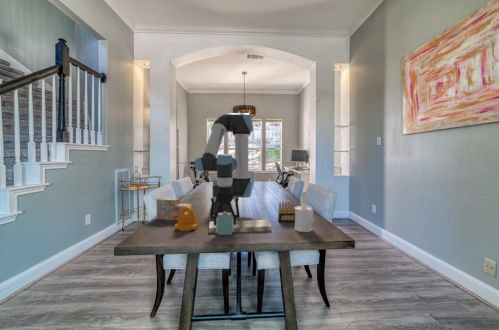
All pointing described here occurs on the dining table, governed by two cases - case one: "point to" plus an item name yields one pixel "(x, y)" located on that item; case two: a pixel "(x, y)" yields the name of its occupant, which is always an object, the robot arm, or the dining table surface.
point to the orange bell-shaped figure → (187, 219)
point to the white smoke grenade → (303, 216)
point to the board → (246, 226)
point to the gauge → (224, 223)
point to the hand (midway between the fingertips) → (224, 231)
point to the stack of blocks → (170, 208)
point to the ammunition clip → (286, 216)
